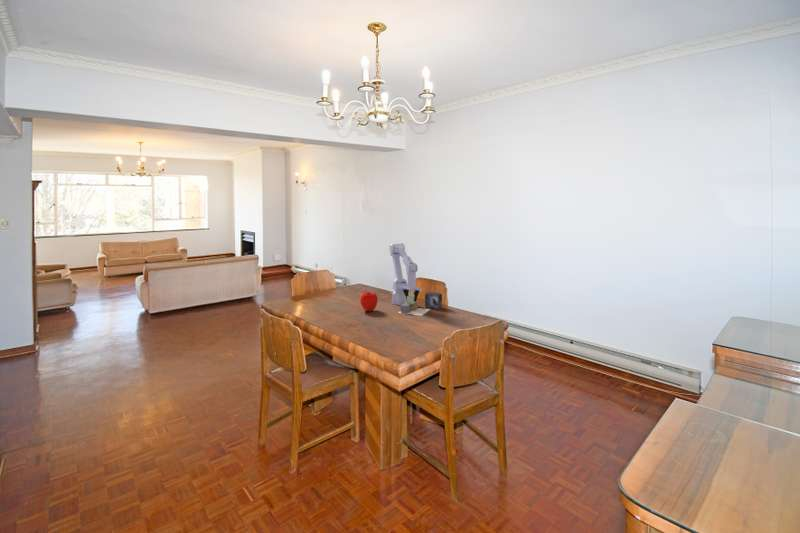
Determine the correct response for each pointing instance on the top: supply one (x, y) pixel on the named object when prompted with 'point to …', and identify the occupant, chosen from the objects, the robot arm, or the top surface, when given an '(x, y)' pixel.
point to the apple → (368, 301)
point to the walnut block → (413, 307)
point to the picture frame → (433, 300)
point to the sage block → (410, 299)
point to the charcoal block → (405, 308)
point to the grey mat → (417, 311)
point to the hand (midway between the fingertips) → (411, 300)
